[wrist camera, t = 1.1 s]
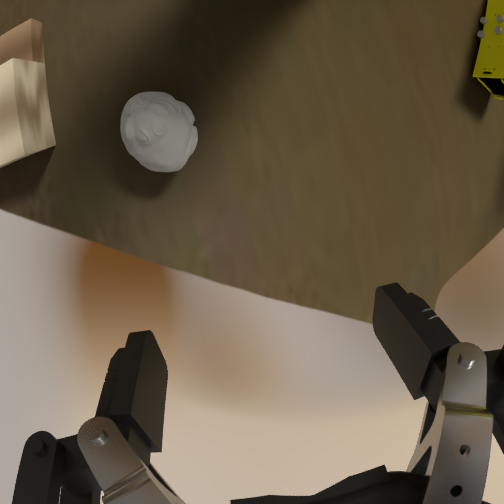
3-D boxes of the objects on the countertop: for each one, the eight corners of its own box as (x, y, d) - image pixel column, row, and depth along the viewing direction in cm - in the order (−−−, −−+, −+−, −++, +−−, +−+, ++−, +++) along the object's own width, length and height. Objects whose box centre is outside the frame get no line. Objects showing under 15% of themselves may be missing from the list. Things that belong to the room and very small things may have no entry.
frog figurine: (177, 82, 24) (165, 72, 18) (213, 145, 27) (213, 155, 21) (121, 117, 25) (94, 119, 18) (157, 178, 28) (141, 198, 21)
